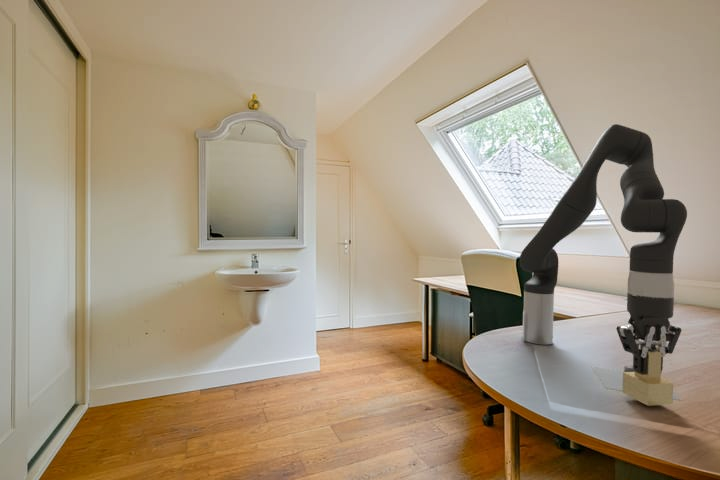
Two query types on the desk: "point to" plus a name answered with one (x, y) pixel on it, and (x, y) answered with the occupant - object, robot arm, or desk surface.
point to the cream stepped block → (649, 383)
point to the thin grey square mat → (616, 378)
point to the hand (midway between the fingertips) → (647, 372)
